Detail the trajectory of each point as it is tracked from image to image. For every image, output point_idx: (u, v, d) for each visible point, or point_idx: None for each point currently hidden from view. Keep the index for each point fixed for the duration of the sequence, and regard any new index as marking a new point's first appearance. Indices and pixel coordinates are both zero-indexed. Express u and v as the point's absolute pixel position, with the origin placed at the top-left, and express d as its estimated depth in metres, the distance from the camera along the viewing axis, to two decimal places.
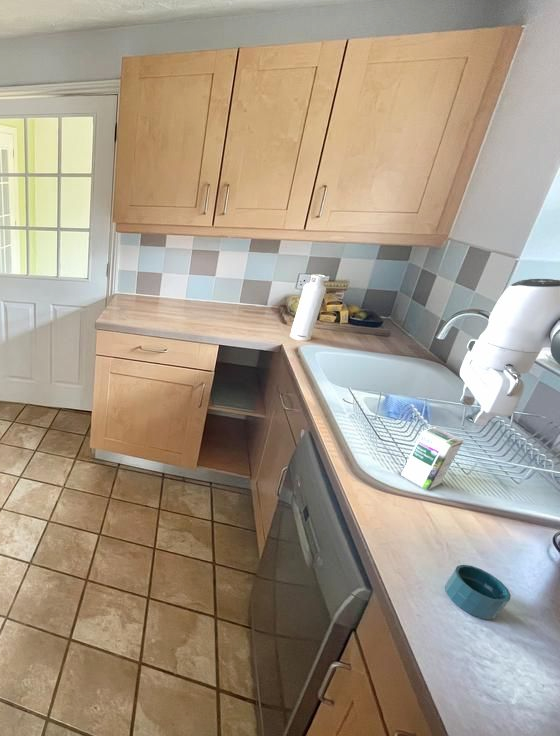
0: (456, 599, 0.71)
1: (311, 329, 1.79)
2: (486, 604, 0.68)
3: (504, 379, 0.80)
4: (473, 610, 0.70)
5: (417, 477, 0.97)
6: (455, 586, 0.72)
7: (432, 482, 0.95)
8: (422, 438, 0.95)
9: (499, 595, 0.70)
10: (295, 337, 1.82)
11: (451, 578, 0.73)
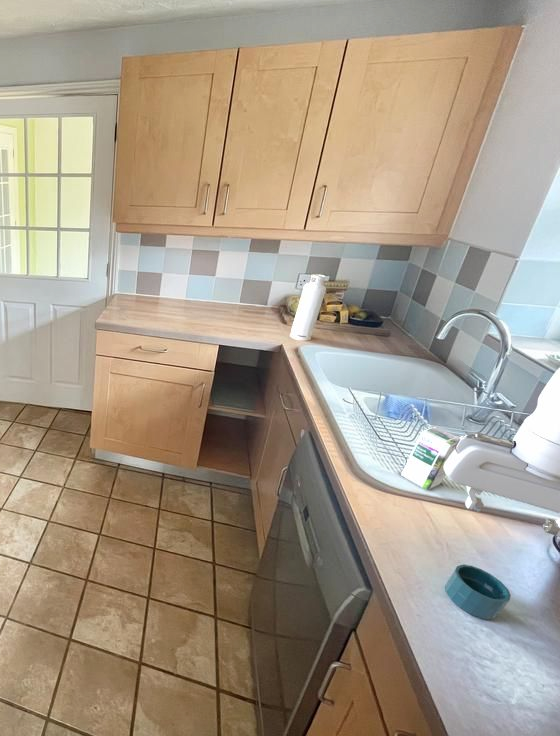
0: (456, 599, 0.71)
1: (311, 329, 1.79)
2: (486, 604, 0.68)
3: None
4: (473, 610, 0.70)
5: (417, 477, 0.97)
6: (455, 586, 0.72)
7: (432, 482, 0.95)
8: (422, 438, 0.95)
9: (499, 595, 0.70)
10: (295, 337, 1.82)
11: (451, 578, 0.73)
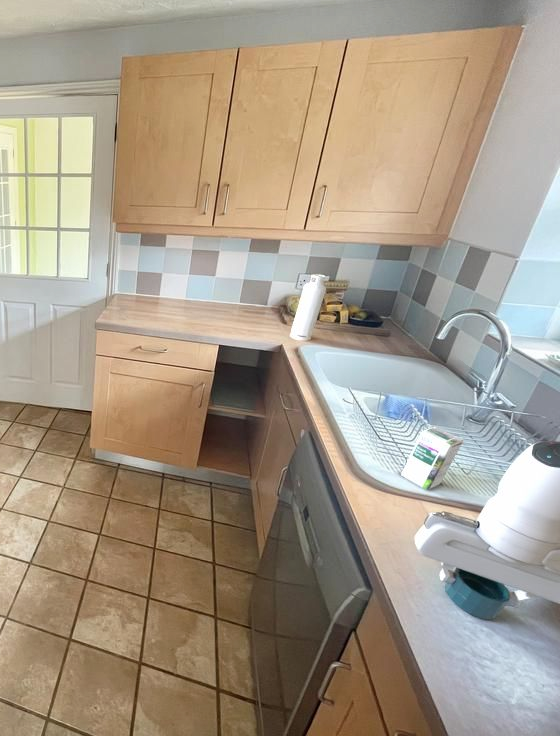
0: (456, 599, 0.71)
1: (311, 329, 1.79)
2: (486, 604, 0.68)
3: None
4: (473, 610, 0.70)
5: (417, 477, 0.97)
6: (455, 586, 0.72)
7: (432, 482, 0.95)
8: (422, 438, 0.95)
9: (499, 595, 0.70)
10: (295, 337, 1.82)
11: None
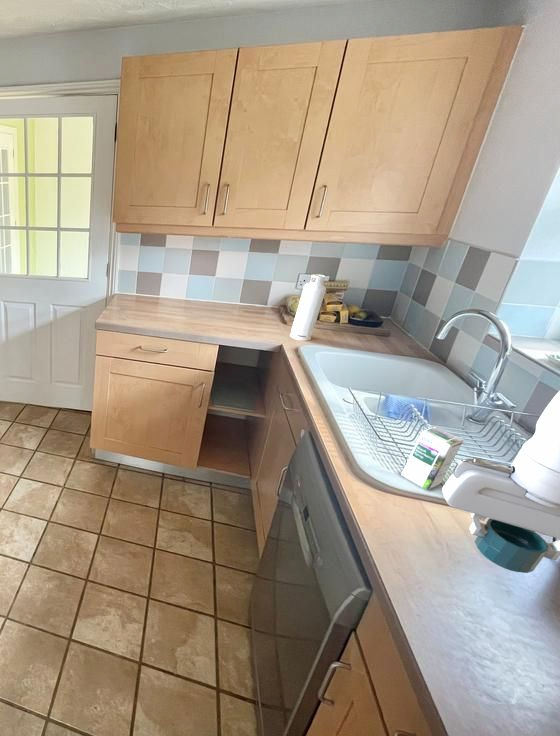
0: (488, 553, 0.67)
1: (311, 329, 1.79)
2: (522, 556, 0.64)
3: None
4: (508, 563, 0.65)
5: (417, 477, 0.97)
6: (487, 539, 0.67)
7: (432, 482, 0.95)
8: (422, 438, 0.95)
9: (535, 548, 0.66)
10: (295, 337, 1.82)
11: None
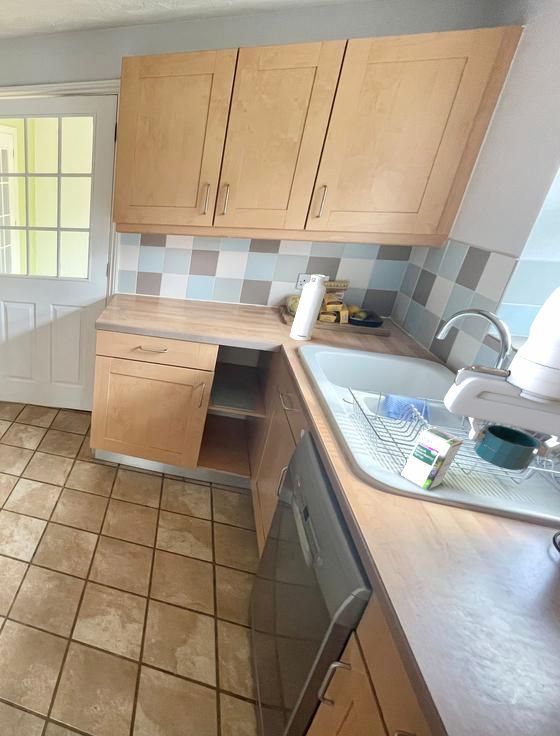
0: (486, 455, 0.73)
1: (311, 329, 1.79)
2: (517, 453, 0.69)
3: None
4: (504, 462, 0.71)
5: (417, 477, 0.97)
6: (485, 442, 0.73)
7: (432, 482, 0.95)
8: (422, 438, 0.95)
9: None
10: (295, 337, 1.82)
11: None
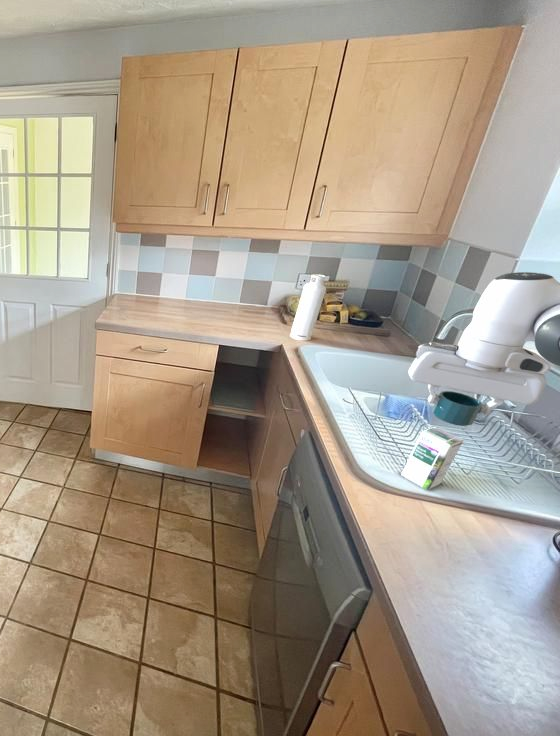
0: (440, 414, 0.90)
1: (311, 329, 1.79)
2: (463, 411, 0.87)
3: None
4: (453, 419, 0.89)
5: (417, 477, 0.97)
6: (440, 404, 0.91)
7: (432, 482, 0.95)
8: (422, 438, 0.95)
9: None
10: (295, 337, 1.82)
11: None
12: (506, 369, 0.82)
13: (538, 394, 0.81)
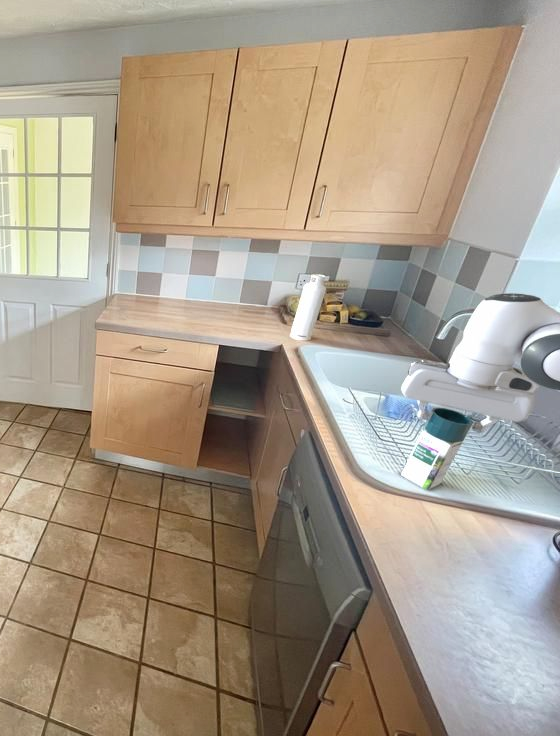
0: (432, 430, 0.92)
1: (311, 329, 1.79)
2: (454, 428, 0.89)
3: None
4: (445, 436, 0.90)
5: (417, 477, 0.97)
6: (431, 421, 0.93)
7: (432, 482, 0.95)
8: (422, 438, 0.95)
9: None
10: (295, 337, 1.82)
11: (428, 417, 0.94)
12: (496, 387, 0.84)
13: (527, 412, 0.83)
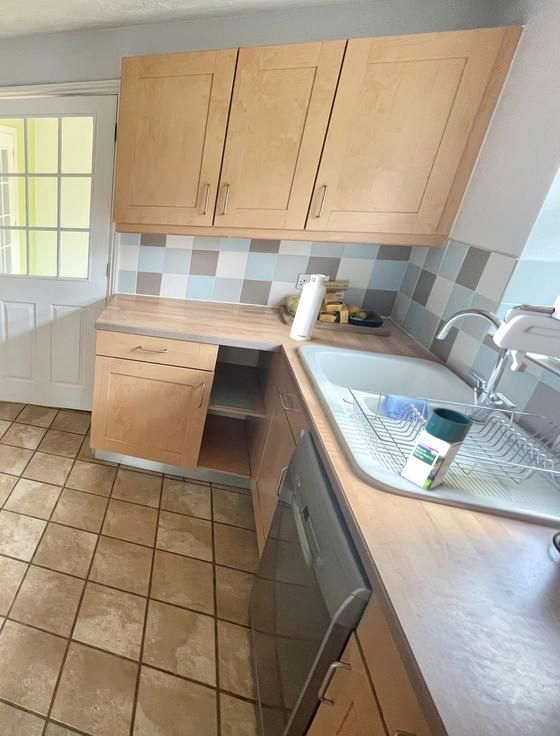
0: (432, 430, 0.92)
1: (311, 329, 1.79)
2: (454, 428, 0.89)
3: None
4: (445, 436, 0.90)
5: (417, 477, 0.97)
6: (431, 421, 0.93)
7: (432, 482, 0.95)
8: (422, 438, 0.95)
9: None
10: (295, 337, 1.82)
11: (429, 417, 0.94)
12: None
13: None
